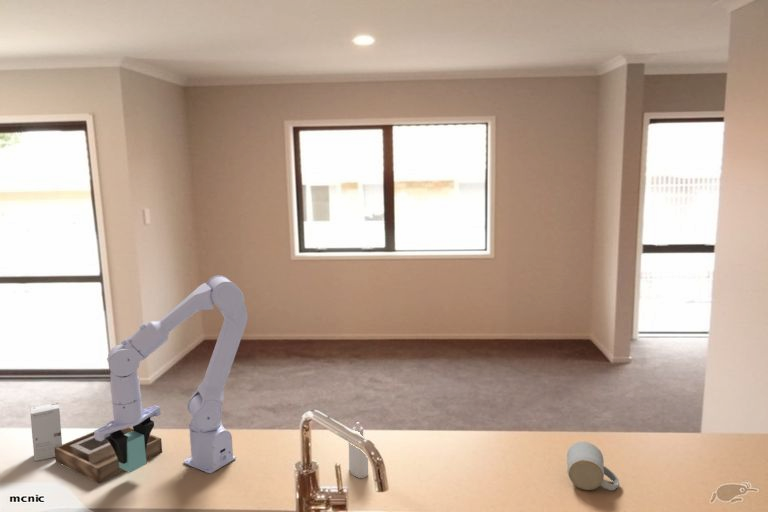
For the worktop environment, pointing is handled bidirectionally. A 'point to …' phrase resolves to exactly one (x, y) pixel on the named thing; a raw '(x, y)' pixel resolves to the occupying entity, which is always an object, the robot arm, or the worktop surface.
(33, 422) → the skincare box
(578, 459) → the ceramic mug
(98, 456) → the metal socket
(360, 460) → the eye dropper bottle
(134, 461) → the teal plug
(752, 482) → the worktop surface
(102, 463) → the walnut tray
